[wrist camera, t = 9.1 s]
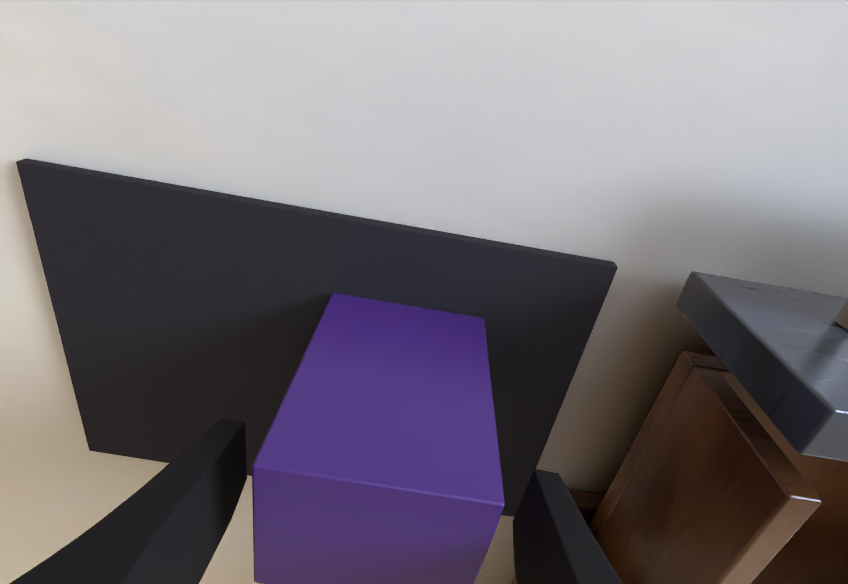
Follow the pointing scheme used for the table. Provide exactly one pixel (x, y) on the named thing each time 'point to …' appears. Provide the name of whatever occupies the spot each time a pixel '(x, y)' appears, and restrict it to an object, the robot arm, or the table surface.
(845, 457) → the drawer
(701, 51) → the table surface
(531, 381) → the mat
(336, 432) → the snack box
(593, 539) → the robot arm
